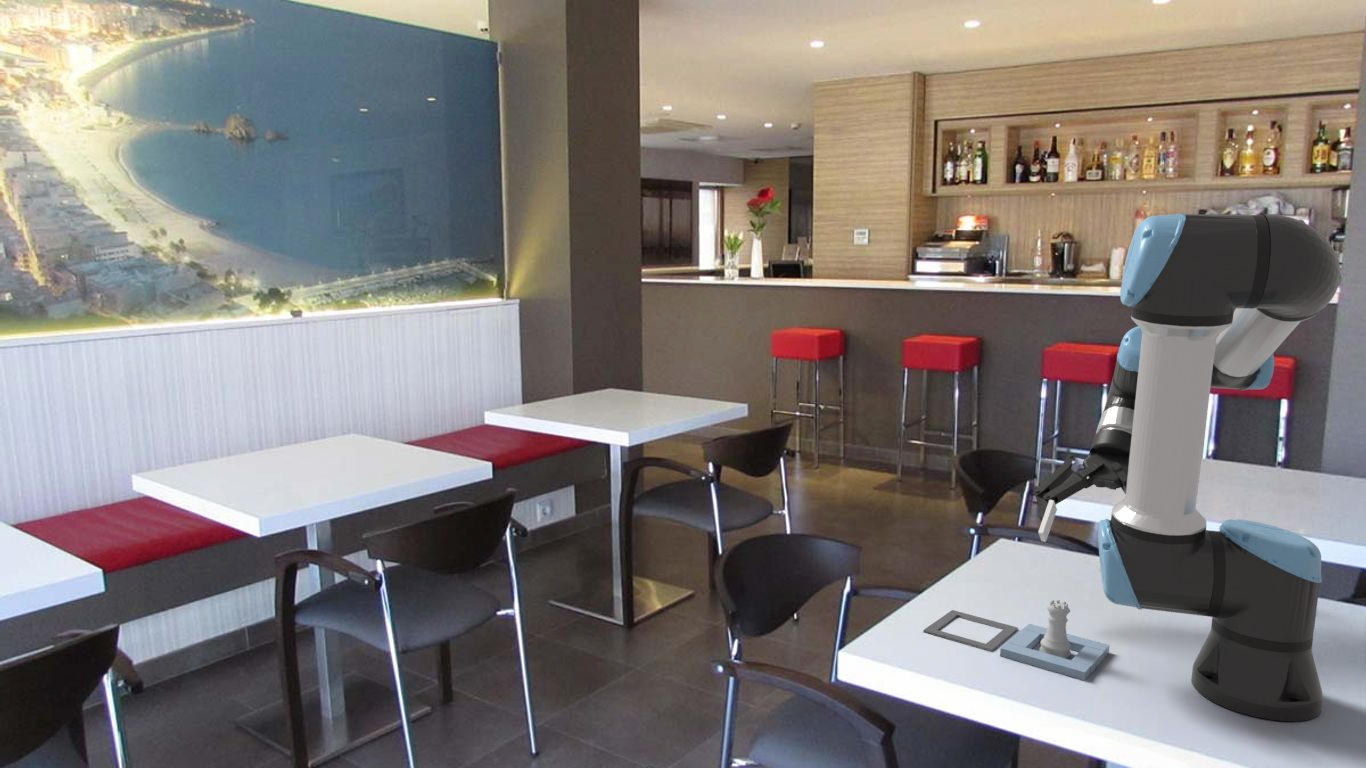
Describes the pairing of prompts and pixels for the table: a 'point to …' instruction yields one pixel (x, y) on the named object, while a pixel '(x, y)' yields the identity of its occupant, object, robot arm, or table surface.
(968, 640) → the bezel
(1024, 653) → the socket
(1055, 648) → the rook chess piece
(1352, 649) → the table surface
